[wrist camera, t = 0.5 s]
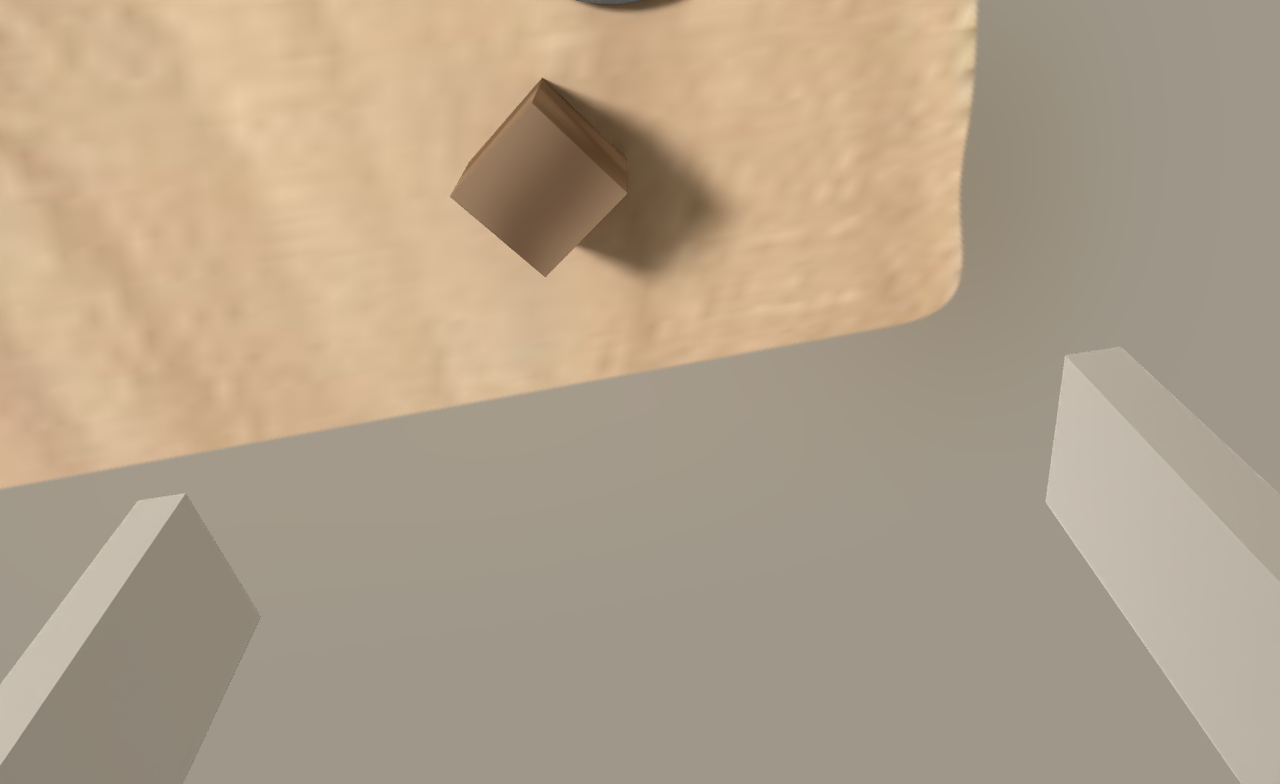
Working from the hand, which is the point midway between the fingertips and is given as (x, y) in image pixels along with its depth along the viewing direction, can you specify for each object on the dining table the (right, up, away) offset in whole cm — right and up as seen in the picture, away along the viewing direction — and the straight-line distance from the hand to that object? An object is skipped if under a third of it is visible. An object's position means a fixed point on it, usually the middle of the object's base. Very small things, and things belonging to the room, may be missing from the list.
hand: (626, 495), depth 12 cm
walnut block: (-4, +12, +24) cm, 27 cm away
